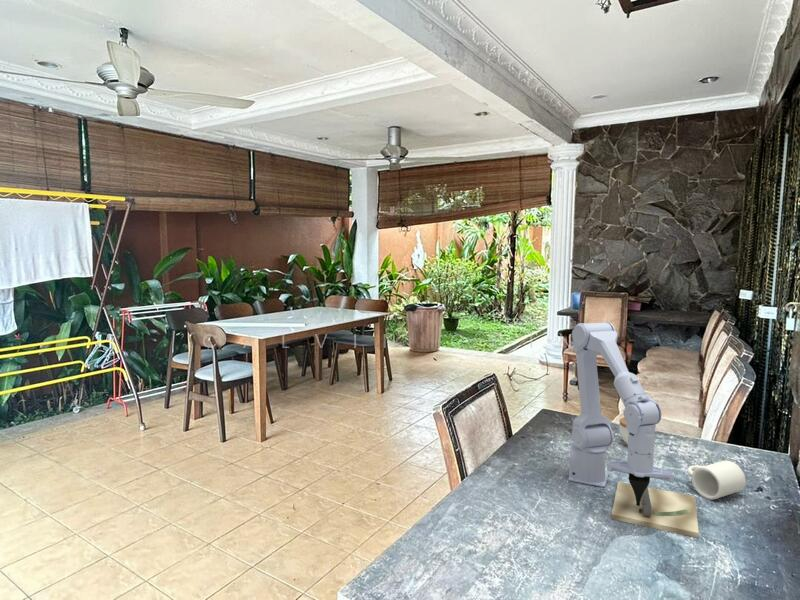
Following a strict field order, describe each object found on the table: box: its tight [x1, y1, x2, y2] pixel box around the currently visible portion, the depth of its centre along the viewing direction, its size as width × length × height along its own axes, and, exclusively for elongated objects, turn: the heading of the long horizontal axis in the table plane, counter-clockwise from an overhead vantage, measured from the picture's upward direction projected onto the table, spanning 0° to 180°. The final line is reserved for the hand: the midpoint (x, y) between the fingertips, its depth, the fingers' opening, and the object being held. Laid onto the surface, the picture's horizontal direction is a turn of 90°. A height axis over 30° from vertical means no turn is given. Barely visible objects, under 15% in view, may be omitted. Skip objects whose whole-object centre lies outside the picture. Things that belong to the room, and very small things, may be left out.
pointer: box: [641, 486, 651, 517], centre depth 128 cm, size 2×16×3 cm, turn 159°
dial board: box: [611, 481, 700, 539], centre depth 126 cm, size 18×19×1 cm
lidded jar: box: [619, 416, 657, 446], centre depth 167 cm, size 11×11×9 cm
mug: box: [686, 460, 747, 501], centre depth 136 cm, size 12×10×8 cm
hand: (638, 504), depth 125 cm, fingers closed
